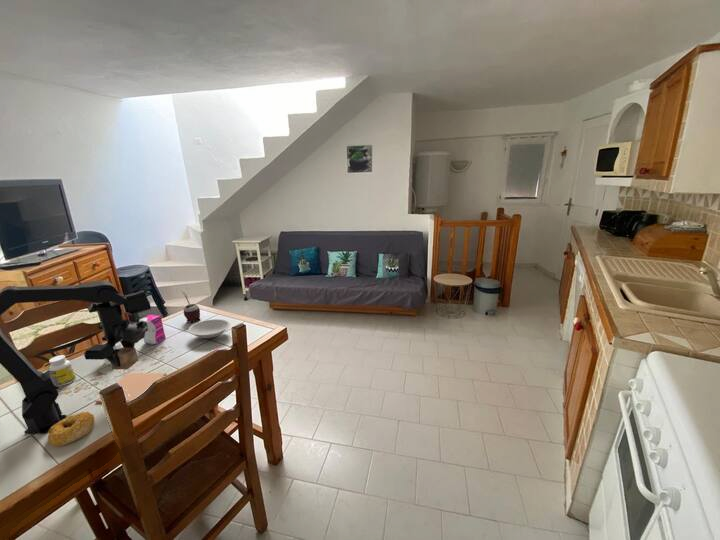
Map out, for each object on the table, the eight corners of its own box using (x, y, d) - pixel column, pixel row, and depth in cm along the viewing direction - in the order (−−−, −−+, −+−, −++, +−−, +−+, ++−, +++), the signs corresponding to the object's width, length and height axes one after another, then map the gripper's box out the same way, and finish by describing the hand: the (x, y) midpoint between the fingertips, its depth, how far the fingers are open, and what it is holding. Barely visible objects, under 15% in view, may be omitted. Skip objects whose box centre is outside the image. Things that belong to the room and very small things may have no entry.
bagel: (85, 413, 92) (80, 401, 91) (103, 427, 87) (99, 414, 86) (42, 438, 84) (35, 425, 82) (59, 454, 79) (53, 441, 77)
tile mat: (138, 403, 96) (137, 401, 96) (96, 402, 96) (95, 400, 96) (166, 374, 109) (165, 373, 109) (129, 374, 110) (128, 372, 109)
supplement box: (155, 345, 128) (148, 321, 125) (144, 343, 130) (137, 320, 126) (166, 338, 134) (160, 315, 130) (156, 336, 135) (150, 314, 131)
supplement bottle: (51, 388, 103) (41, 364, 100) (61, 378, 108) (52, 355, 105) (70, 385, 105) (61, 361, 102) (79, 375, 110) (71, 352, 107)
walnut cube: (127, 369, 97) (123, 356, 96) (112, 369, 97) (108, 356, 96) (138, 360, 102) (135, 347, 101) (124, 360, 102) (120, 347, 101)
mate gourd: (198, 323, 147) (192, 295, 142) (181, 324, 146) (175, 296, 141) (203, 316, 154) (198, 289, 149) (187, 317, 153) (181, 290, 148)
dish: (237, 329, 141) (235, 319, 139) (221, 345, 127) (219, 335, 126) (202, 327, 142) (200, 318, 141) (182, 344, 129) (180, 334, 127)
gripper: (112, 335, 85) (126, 380, 90) (156, 307, 103) (166, 346, 108) (75, 334, 86) (91, 380, 91) (125, 307, 103) (136, 346, 108)
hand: (124, 361), depth 99 cm, fingers closed on walnut cube, 5 cm apart
